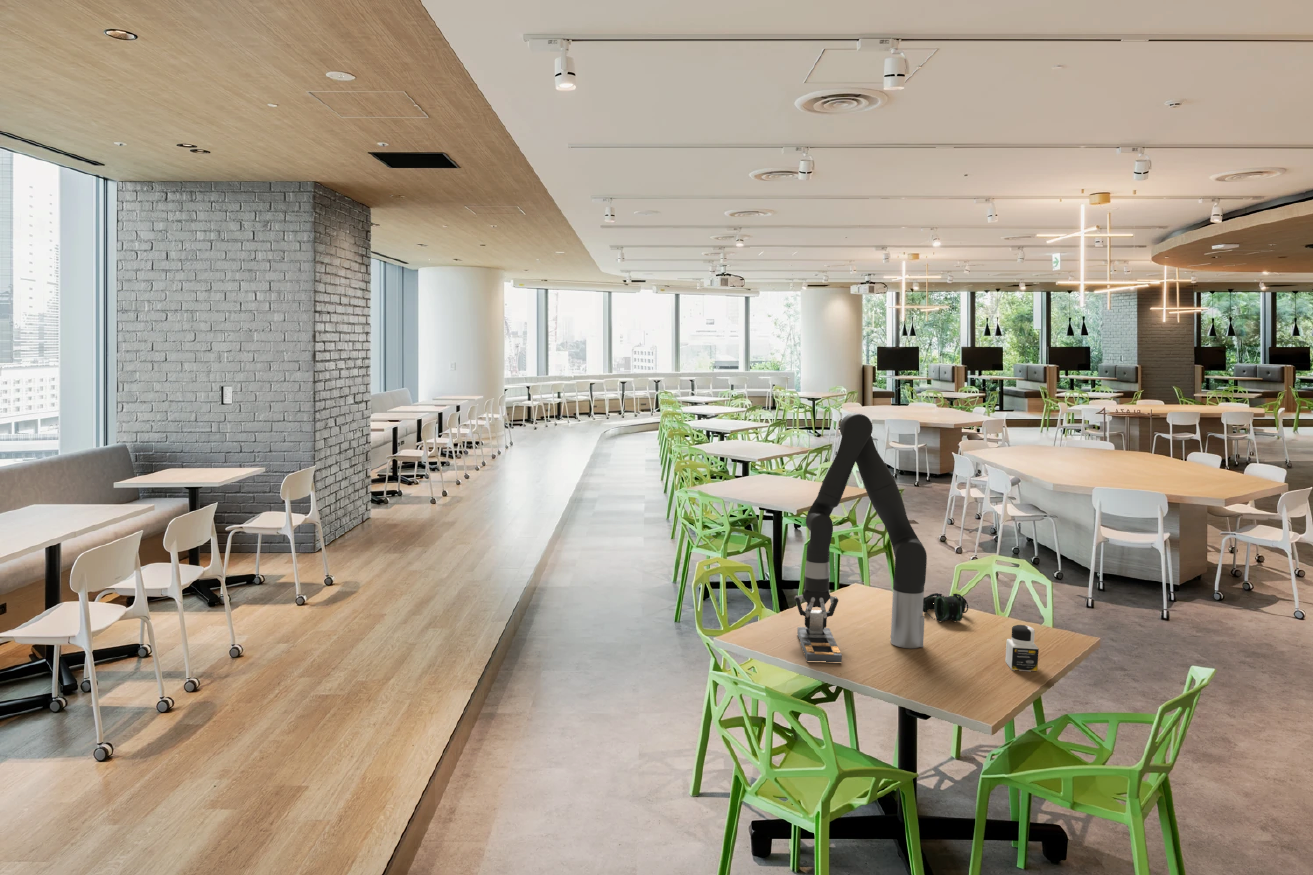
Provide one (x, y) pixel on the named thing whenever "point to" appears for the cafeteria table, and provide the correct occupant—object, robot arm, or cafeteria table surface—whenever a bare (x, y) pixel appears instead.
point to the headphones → (945, 606)
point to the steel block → (816, 623)
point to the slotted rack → (819, 646)
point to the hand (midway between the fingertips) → (815, 628)
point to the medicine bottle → (1022, 649)
